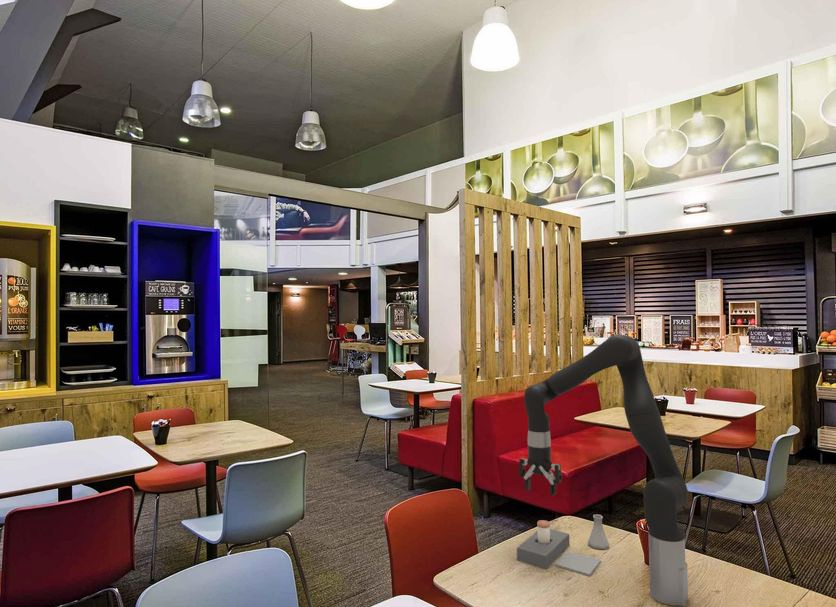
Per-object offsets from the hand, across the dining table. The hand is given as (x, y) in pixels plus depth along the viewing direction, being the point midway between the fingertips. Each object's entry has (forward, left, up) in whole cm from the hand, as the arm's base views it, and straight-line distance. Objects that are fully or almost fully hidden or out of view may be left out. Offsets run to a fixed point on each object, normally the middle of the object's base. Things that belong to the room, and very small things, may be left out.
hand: (540, 492), depth 170 cm
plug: (0, -2, -20) cm, 20 cm away
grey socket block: (0, -2, -20) cm, 20 cm away
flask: (-13, -18, -21) cm, 30 cm away
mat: (-12, -1, -20) cm, 24 cm away
